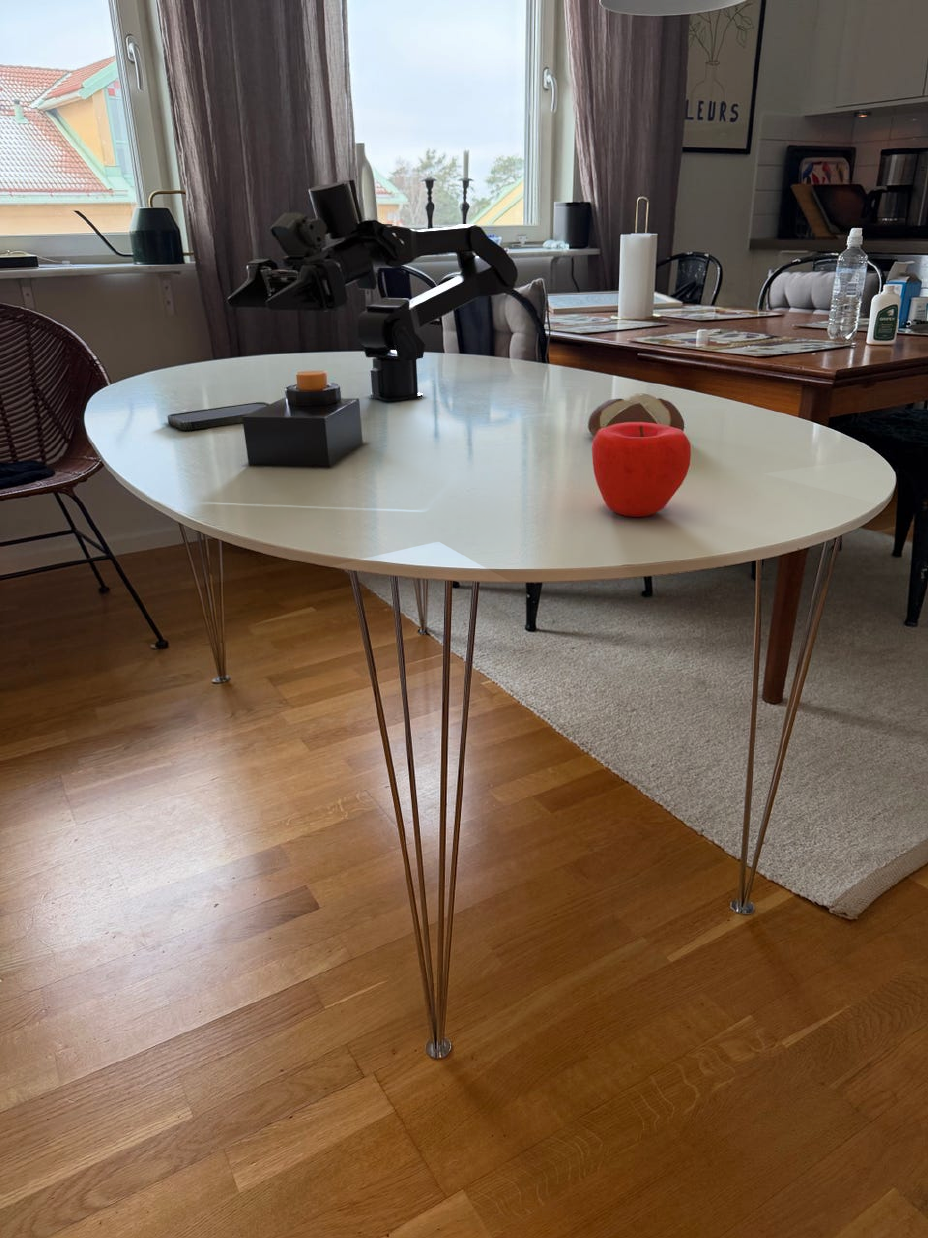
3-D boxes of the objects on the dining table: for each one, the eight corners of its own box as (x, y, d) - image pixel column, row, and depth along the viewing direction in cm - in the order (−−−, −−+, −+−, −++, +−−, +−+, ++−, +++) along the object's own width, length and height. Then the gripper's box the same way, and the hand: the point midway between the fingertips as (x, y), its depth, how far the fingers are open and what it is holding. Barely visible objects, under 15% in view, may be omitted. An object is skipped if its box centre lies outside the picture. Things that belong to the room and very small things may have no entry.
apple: (706, 513, 78) (714, 428, 75) (632, 532, 74) (638, 442, 71) (640, 491, 85) (645, 412, 82) (570, 507, 81) (572, 424, 78)
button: (304, 387, 106) (302, 370, 105) (331, 387, 105) (330, 370, 104) (293, 392, 103) (291, 374, 102) (321, 392, 102) (319, 375, 101)
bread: (647, 424, 114) (649, 386, 112) (697, 442, 104) (700, 400, 102) (572, 433, 110) (573, 393, 108) (616, 452, 101) (618, 409, 98)
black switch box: (291, 441, 111) (284, 381, 108) (364, 442, 109) (360, 382, 106) (248, 465, 100) (239, 400, 96) (329, 468, 98) (323, 401, 94)
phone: (165, 414, 123) (262, 401, 131) (166, 422, 124) (263, 408, 131) (183, 423, 117) (284, 408, 125) (184, 431, 118) (285, 415, 125)
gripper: (277, 209, 124) (188, 241, 116) (361, 204, 112) (267, 239, 104) (301, 287, 130) (217, 323, 122) (382, 290, 118) (296, 330, 110)
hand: (247, 304), depth 114 cm, fingers open, 9 cm apart
